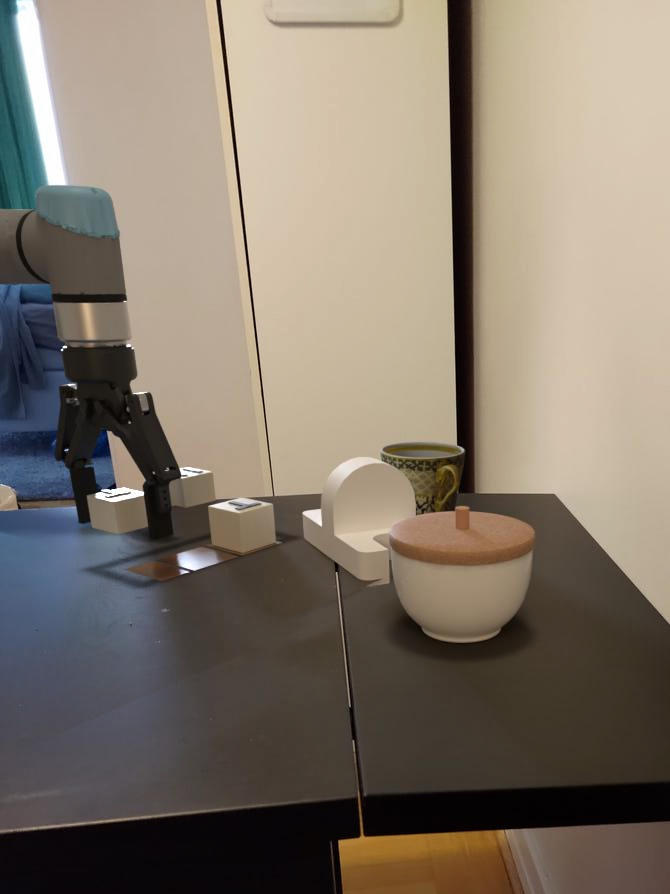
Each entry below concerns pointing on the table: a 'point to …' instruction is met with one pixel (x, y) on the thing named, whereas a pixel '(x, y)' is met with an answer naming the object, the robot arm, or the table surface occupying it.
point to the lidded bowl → (461, 571)
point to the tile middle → (192, 488)
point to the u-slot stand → (360, 516)
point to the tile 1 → (117, 510)
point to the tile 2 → (242, 524)
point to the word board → (188, 562)
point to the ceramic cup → (429, 472)
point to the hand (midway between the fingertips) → (125, 530)
